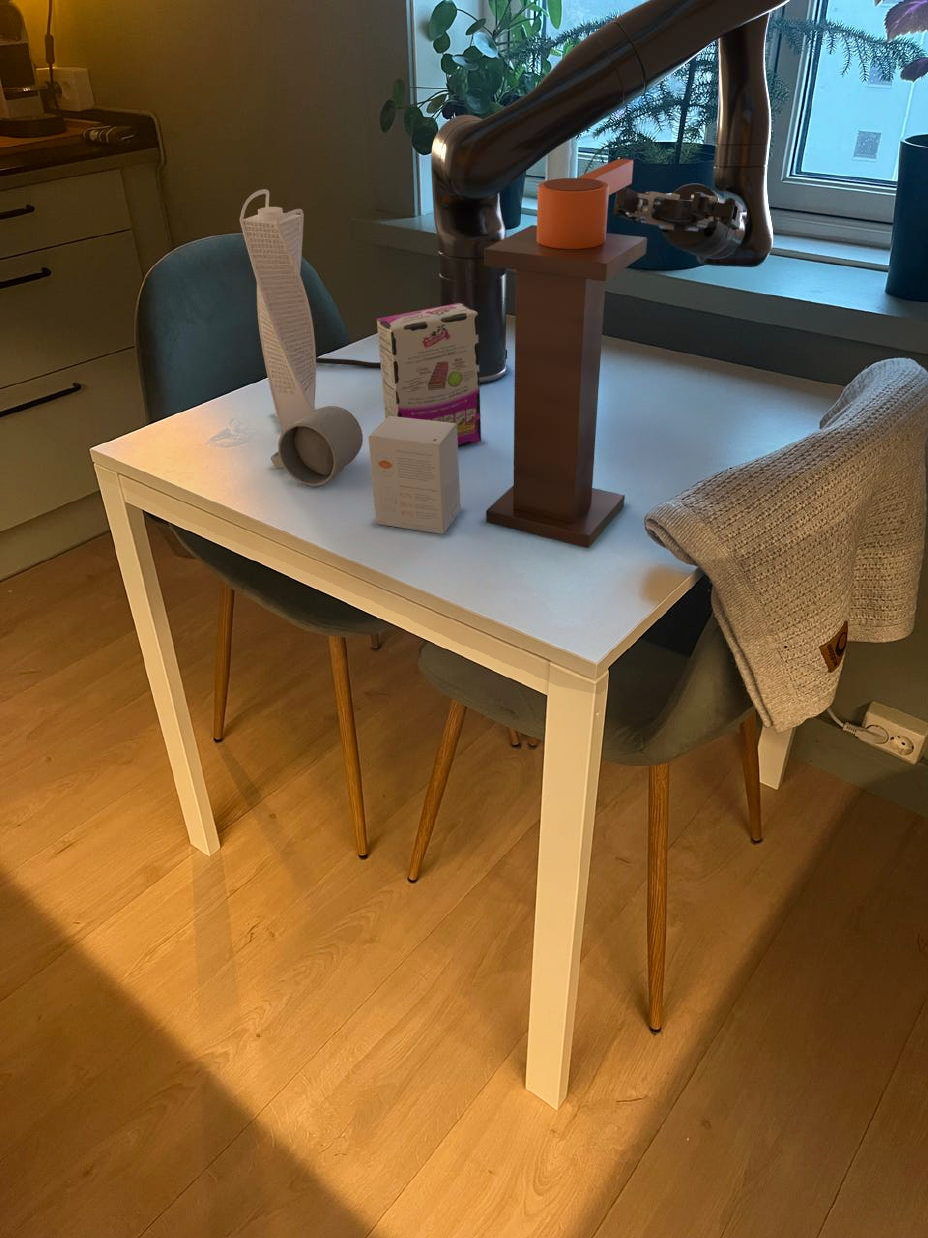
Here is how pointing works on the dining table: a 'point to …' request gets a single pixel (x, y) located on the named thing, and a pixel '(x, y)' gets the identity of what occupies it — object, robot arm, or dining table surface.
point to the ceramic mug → (319, 445)
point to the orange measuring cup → (579, 206)
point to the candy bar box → (433, 367)
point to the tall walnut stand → (558, 384)
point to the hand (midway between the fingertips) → (658, 199)
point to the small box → (415, 473)
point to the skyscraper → (282, 308)
